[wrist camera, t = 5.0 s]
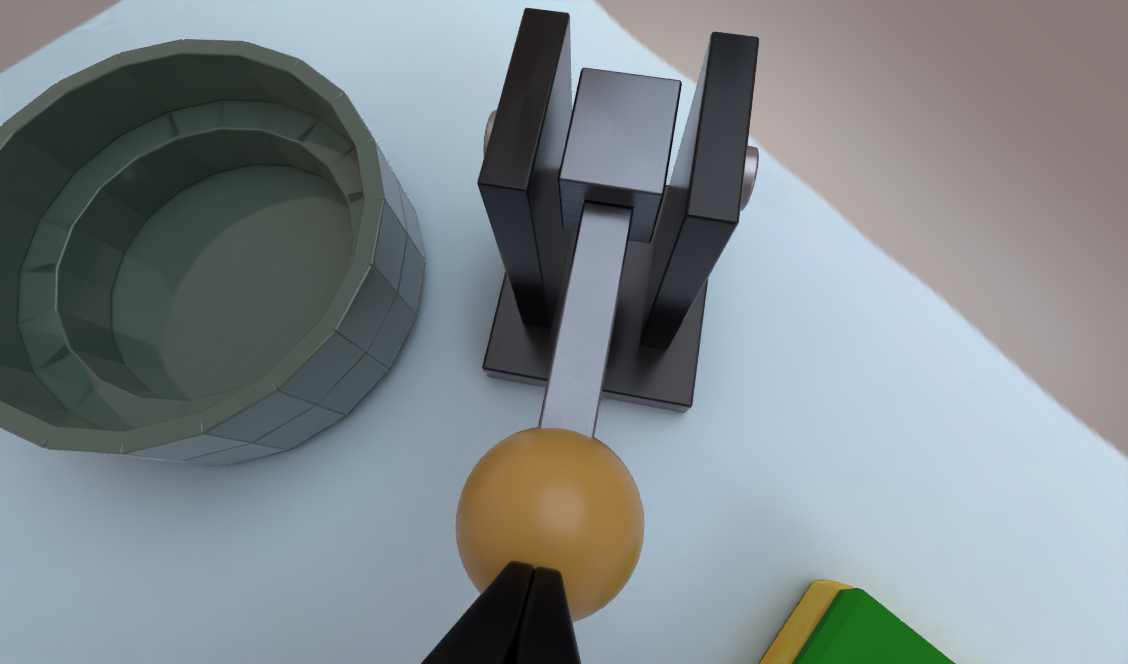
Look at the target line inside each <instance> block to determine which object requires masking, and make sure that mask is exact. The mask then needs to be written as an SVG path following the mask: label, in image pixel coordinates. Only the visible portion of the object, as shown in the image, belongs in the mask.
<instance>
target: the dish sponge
mask: <svg viewBox="0 0 1128 664" xmlns="http://www.w3.org/2000/svg"><path fill="white" fill-rule="evenodd" d="M759 664H955V663H954V662H952V661H951V660H950V659H949V658H947V657H946V656H945V655H944V654H942V653H941V652H940V651H939V650H937V649H936V648H935V647H934V646H932V645H931V644H930V643H929V642H927V641H926V640H925V639H924V638H922V637H921V636H920V635H919V634H917V633H916V632H915V631H914V630H912V629H911V628H910V627H909V626H907V625H906V624H905V623H904V622H902V621H901V620H900V619H899V618H898V617H896V616H895V615H894V614H893V613H891V612H890V611H889V610H888V609H886V608H885V607H884V606H883V605H881V604H880V603H879V602H878V601H876V600H875V599H874V598H873V597H871V596H870V595H869V594H868V593H866V592H865V591H864V590H862V589H859V588H854V587H852V586H849V585H845V584H842V583H839V582H836V581H832V580H819V581H813V583H812V584H811V586H810V587H809V589H808V590H807V592H806V593H805V595H804V596H803V598H802V599H801V601H800V602H799V604H798V606H797V607H796V609H795V610H794V612H793V613H792V615H791V616H790V618H789V619H788V621H787V622H786V624H785V625H784V627H783V628H782V630H781V631H780V633H779V634H778V636H777V637H776V639H775V640H774V642H773V643H772V645H771V646H770V648H769V650H768V651H767V653H766V654H765V656H764V657H763V659H762V660H761V662H760V663H759Z"/></svg>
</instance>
